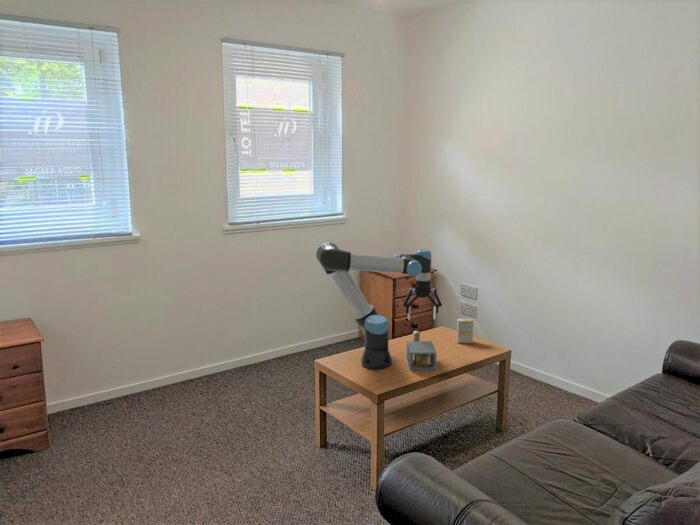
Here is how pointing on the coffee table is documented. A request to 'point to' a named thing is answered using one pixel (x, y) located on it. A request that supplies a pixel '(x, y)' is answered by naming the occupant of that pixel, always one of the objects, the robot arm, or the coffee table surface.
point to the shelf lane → (421, 353)
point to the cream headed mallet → (419, 359)
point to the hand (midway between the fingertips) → (421, 319)
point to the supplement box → (464, 330)
